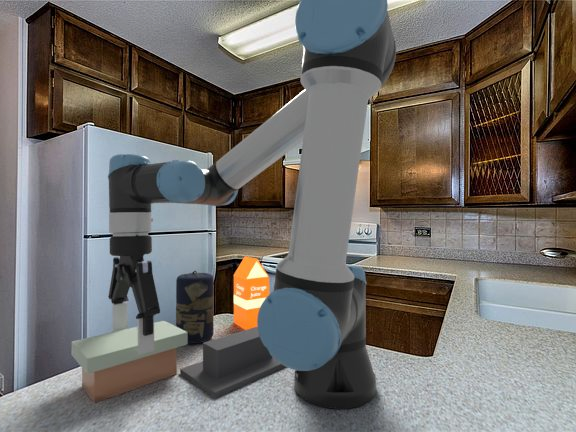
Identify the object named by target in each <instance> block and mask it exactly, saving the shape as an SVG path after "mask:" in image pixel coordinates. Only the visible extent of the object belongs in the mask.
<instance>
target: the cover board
mask: <svg viewBox="0 0 576 432" xmlns="http://www.w3.org/2000/svg"><path fill="white" fill-rule="evenodd" d="M188 344H189V343H188V332H186V331H184V330H182V329H180V328H178V327H176V325H174V324H172V323H169V322H167V321H165V320H160V321H157V322H155V321H154V351H151V352H147V353H144V354H140V355H139V354H138V330H137V326H134V327H133V326H132V327H130V328H129V327H128V329H124V330H120V331H116V332H113V331H112V332H107V333H103V334H98V335H94V336H90V337H85V338H81V339H77V340H73V341H71V356H72V357H73V358H74V360H75V361H76V362H77V363H78V364H79V366H80V367H81V369H82V368H83V369H84V370H85V372H86V373H87V374H89V373H92V372H96V371H99V370H102V369H106V368H109V367H113V366H116V365H119V364H123V363H126V362H130V361H133V360H136V359H140V358H143V357H146V356H150V355H153V354H157V353H160V352H163V351H167V350H170V349H174V348H177V349H178V348H181V347H183V346H186V345H188Z"/></svg>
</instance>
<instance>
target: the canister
mask: <svg viewBox="0 0 576 432" xmlns="http://www.w3.org/2000/svg"><path fill="white" fill-rule="evenodd" d="M214 280H215V279H214V275H212V274H211V273H207V272H198V271H197V270H193V271H192V272H190V273H189V272H188V273H182V274H180V275H178V276H177V277H176V281H175V282H176V283H175V291H176V292H175V297H176V299H175V326H176V327H178V328H180V329H182V330H184V331H186V332H188V344H198V343H204V342H207V341H208V340H209V339H211V338H212V337H213V335H214V319H215V317H214V305H215V303H214V299H215V296H214V293H215V292H214V291H215V290H214Z"/></svg>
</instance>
